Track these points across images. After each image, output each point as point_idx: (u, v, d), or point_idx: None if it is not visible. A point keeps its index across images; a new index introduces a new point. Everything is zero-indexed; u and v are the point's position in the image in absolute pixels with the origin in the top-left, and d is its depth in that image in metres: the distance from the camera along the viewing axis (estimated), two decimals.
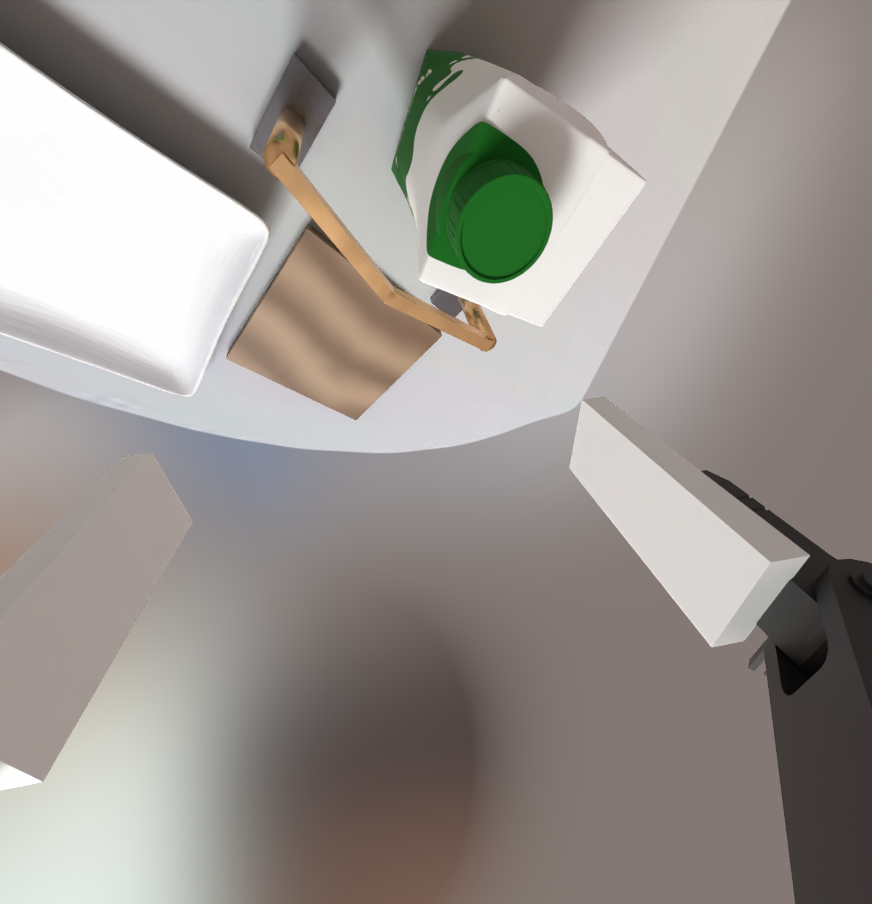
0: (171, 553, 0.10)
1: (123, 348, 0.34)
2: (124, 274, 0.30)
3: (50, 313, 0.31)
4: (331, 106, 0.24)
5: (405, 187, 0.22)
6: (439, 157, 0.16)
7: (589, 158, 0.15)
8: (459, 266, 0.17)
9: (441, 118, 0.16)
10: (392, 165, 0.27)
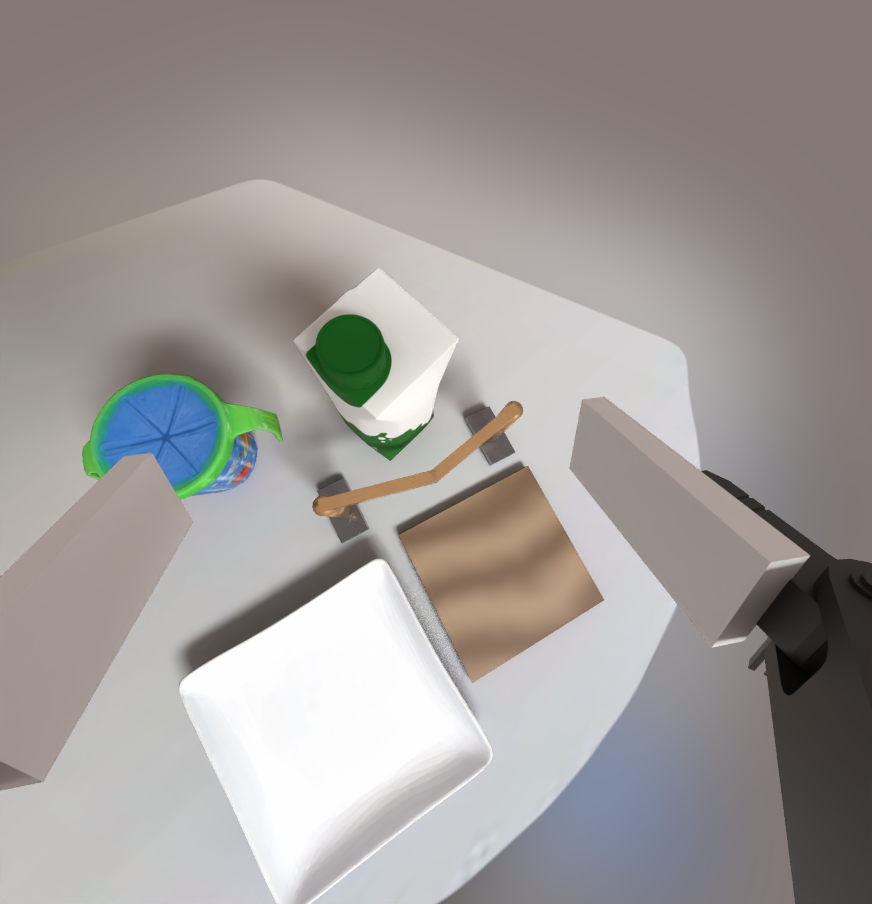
0: (171, 553, 0.10)
1: (423, 771, 0.33)
2: (373, 702, 0.35)
3: (372, 800, 0.33)
4: (344, 481, 0.38)
5: (373, 438, 0.31)
6: (333, 394, 0.26)
7: (349, 299, 0.24)
8: (379, 388, 0.23)
9: (327, 393, 0.27)
10: (386, 457, 0.39)
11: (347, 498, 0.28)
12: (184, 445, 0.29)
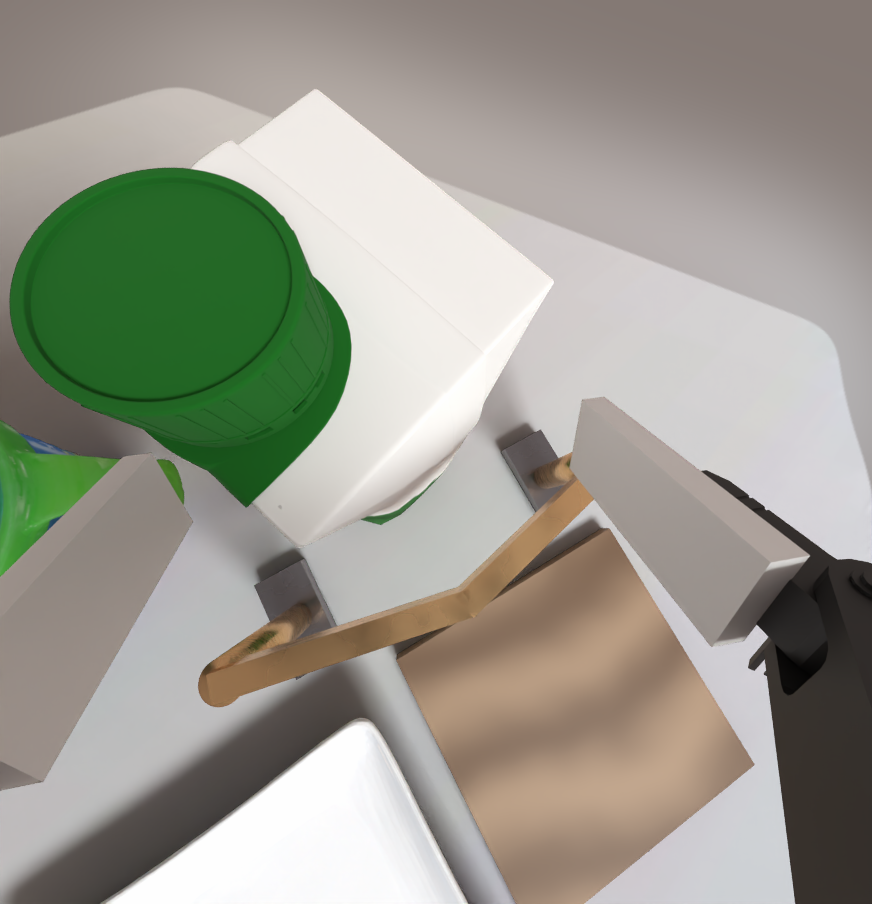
0: (171, 553, 0.10)
1: None
2: None
3: None
4: (301, 566, 0.22)
5: None
6: None
7: (225, 170, 0.08)
8: (311, 439, 0.07)
9: None
10: None
11: (275, 667, 0.13)
12: None
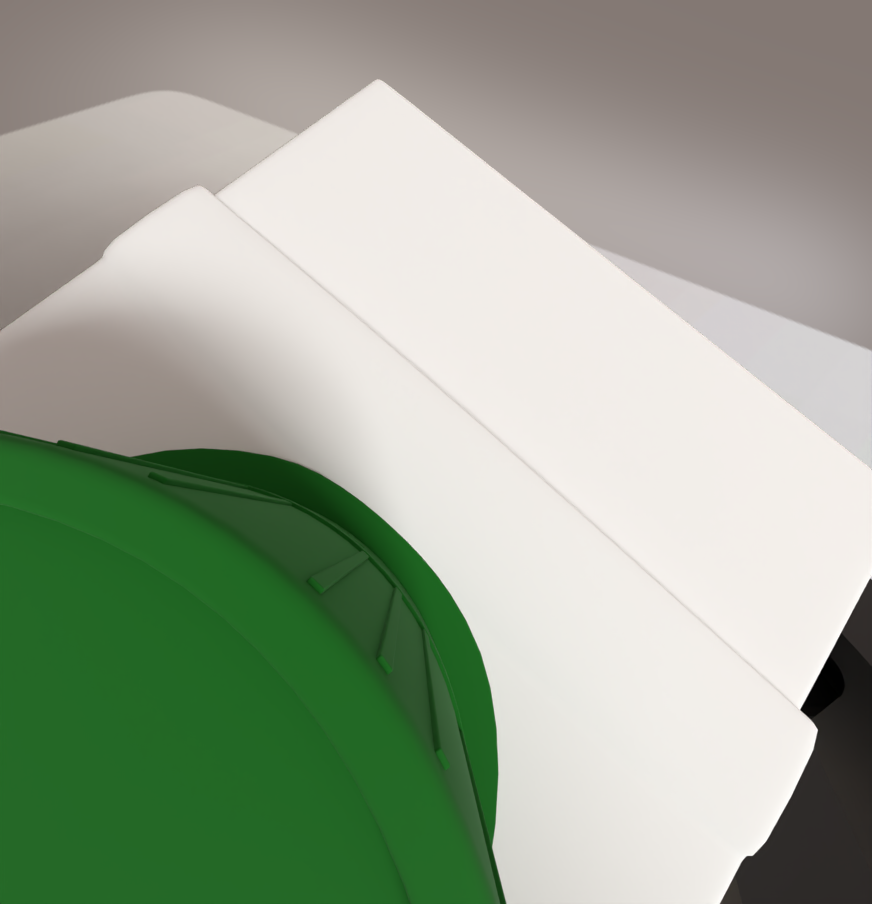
0: None
1: None
2: None
3: None
4: None
5: None
6: None
7: (183, 254, 0.04)
8: None
9: None
10: None
11: None
12: None
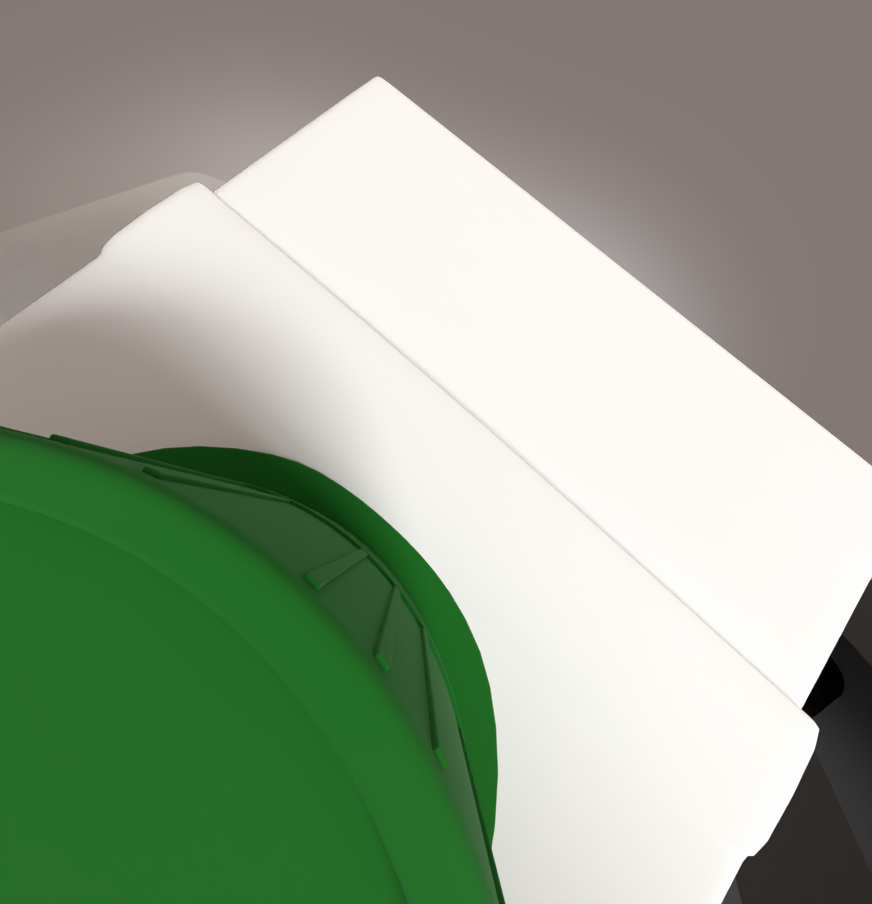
0: None
1: None
2: None
3: None
4: None
5: None
6: None
7: (183, 250, 0.04)
8: None
9: None
10: None
11: None
12: None
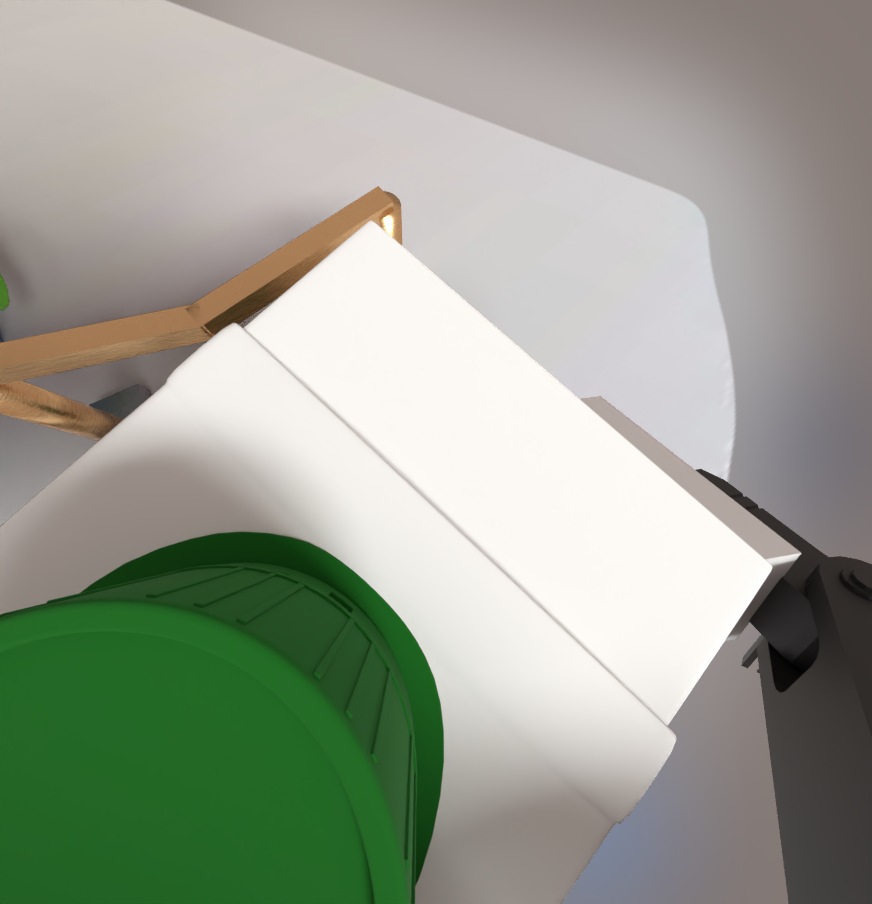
0: None
1: None
2: None
3: None
4: (138, 390, 0.23)
5: None
6: None
7: (224, 378, 0.05)
8: None
9: None
10: None
11: None
12: None
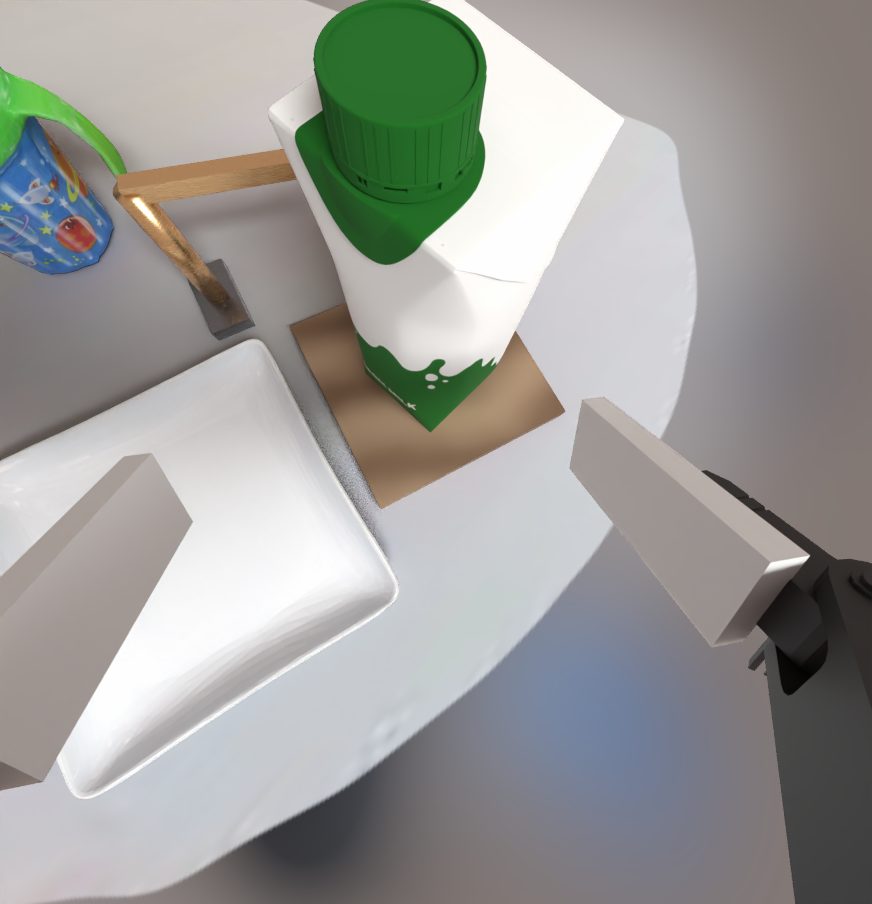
0: (171, 553, 0.10)
1: (305, 619, 0.24)
2: (242, 531, 0.25)
3: (230, 655, 0.23)
4: (221, 262, 0.29)
5: (416, 378, 0.18)
6: (353, 261, 0.13)
7: None
8: (460, 206, 0.10)
9: (340, 276, 0.15)
10: (425, 426, 0.26)
11: (161, 175, 0.19)
12: None
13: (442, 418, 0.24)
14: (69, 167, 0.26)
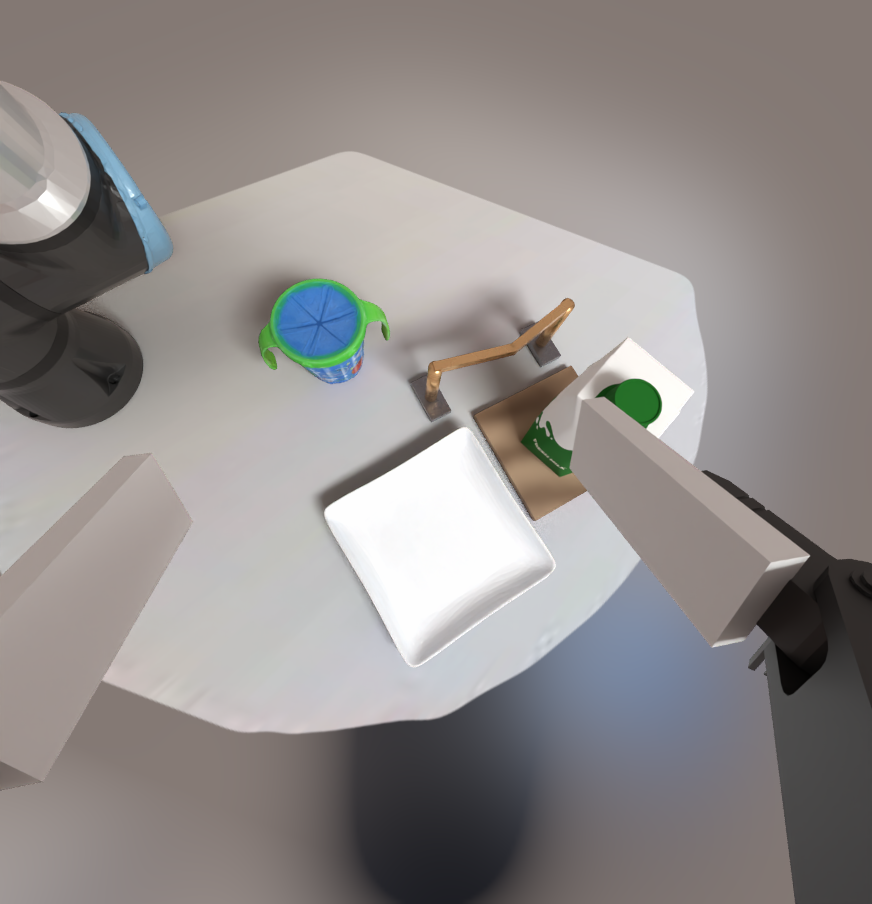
0: (171, 553, 0.10)
1: (503, 581, 0.44)
2: (462, 534, 0.46)
3: (465, 600, 0.44)
4: None
5: None
6: None
7: (612, 362, 0.32)
8: None
9: (569, 429, 0.35)
10: (559, 474, 0.47)
11: (453, 361, 0.40)
12: (333, 328, 0.41)
13: None
14: None
